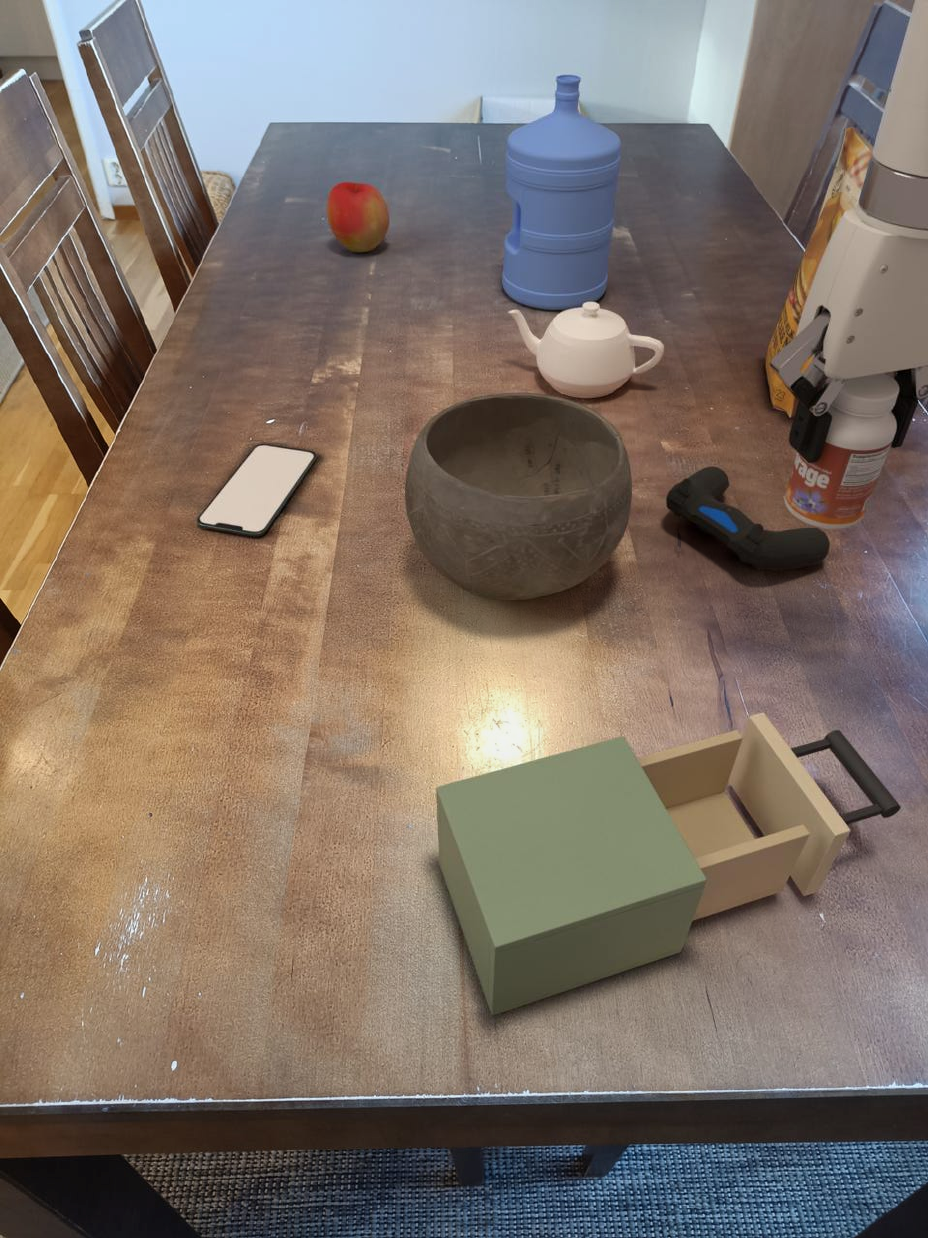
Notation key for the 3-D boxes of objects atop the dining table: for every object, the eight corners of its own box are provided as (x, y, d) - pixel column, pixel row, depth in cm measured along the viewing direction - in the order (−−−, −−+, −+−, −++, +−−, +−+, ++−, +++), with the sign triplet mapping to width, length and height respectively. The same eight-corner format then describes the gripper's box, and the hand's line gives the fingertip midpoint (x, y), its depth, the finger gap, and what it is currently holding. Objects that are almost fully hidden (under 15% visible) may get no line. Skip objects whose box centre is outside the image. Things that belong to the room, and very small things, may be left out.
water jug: (622, 281, 137) (648, 71, 117) (577, 322, 127) (597, 101, 108) (532, 260, 143) (542, 57, 123) (482, 297, 133) (485, 83, 113)
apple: (334, 263, 142) (327, 197, 135) (328, 240, 149) (321, 176, 142) (394, 258, 143) (390, 192, 136) (386, 235, 150) (382, 172, 143)
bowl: (550, 484, 99) (560, 359, 89) (662, 598, 86) (689, 467, 75) (376, 539, 92) (364, 411, 82) (469, 671, 79) (469, 539, 69)
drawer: (809, 756, 71) (837, 691, 66) (893, 867, 64) (932, 804, 59) (593, 819, 67) (604, 755, 62) (657, 945, 60) (676, 886, 55)
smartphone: (257, 445, 105) (193, 527, 94) (257, 442, 105) (192, 523, 93) (320, 455, 103) (262, 539, 92) (320, 451, 103) (261, 535, 92)
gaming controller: (688, 508, 100) (639, 498, 93) (715, 462, 98) (667, 448, 90) (810, 589, 90) (766, 585, 83) (843, 540, 88) (800, 532, 81)
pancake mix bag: (810, 351, 121) (877, 122, 101) (828, 428, 107) (909, 180, 88) (759, 348, 121) (815, 119, 102) (770, 423, 108) (837, 176, 88)
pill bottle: (769, 490, 73) (803, 365, 65) (838, 481, 74) (880, 356, 66) (805, 537, 68) (847, 408, 61) (878, 526, 69) (929, 398, 62)
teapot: (491, 389, 114) (492, 313, 107) (520, 345, 122) (523, 272, 115) (646, 417, 109) (659, 339, 102) (666, 370, 117) (679, 294, 110)
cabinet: (609, 813, 69) (624, 735, 62) (681, 952, 61) (707, 879, 54) (439, 863, 66) (435, 786, 59) (491, 1016, 58) (494, 947, 51)
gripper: (1004, 160, 59) (912, 403, 71) (768, 187, 56) (715, 437, 68) (1091, 198, 54) (975, 453, 66) (837, 231, 50) (765, 493, 63)
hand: (844, 443), depth 67 cm, fingers closed on pill bottle, 6 cm apart
